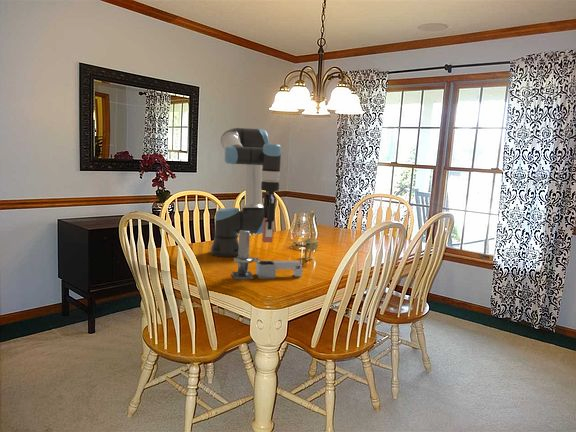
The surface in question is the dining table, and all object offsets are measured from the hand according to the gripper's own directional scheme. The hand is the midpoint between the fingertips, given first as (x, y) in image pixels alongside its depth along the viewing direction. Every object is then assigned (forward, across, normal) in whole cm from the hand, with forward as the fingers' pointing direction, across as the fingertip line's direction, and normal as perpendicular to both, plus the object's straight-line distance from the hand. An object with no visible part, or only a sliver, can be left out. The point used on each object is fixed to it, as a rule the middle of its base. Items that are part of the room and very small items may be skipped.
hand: (267, 235), depth 193 cm
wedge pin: (+3, 0, 0) cm, 3 cm away
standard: (+18, 0, +9) cm, 20 cm away
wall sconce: (+18, +26, -27) cm, 42 cm away
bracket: (+18, 0, -6) cm, 19 cm away
